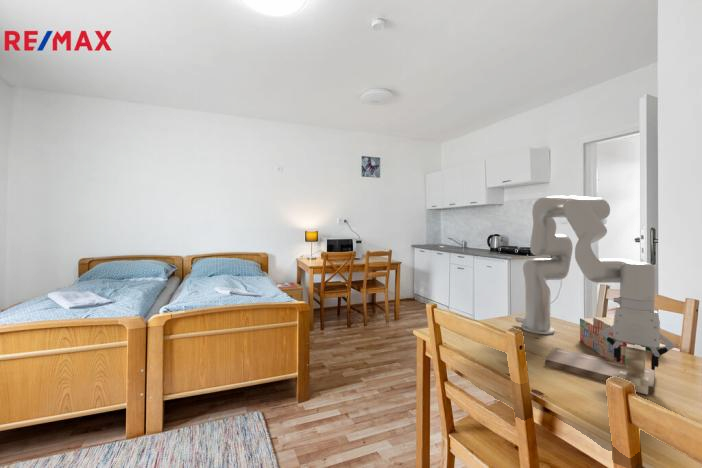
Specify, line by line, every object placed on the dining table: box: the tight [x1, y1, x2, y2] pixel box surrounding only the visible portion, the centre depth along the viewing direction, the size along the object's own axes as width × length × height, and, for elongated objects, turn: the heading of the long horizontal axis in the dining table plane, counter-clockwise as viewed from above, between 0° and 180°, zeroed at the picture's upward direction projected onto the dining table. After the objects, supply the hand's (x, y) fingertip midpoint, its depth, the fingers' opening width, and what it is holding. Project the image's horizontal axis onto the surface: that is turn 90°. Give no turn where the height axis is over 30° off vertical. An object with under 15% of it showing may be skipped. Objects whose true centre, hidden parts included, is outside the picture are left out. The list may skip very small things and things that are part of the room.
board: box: [545, 347, 656, 395], centre depth 102 cm, size 26×14×2 cm, turn 45°
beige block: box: [619, 344, 649, 396], centre depth 93 cm, size 6×15×10 cm, turn 135°
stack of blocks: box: [579, 316, 635, 363], centre depth 117 cm, size 21×6×12 cm, turn 170°
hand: (635, 364), depth 94 cm, fingers open, 7 cm apart
